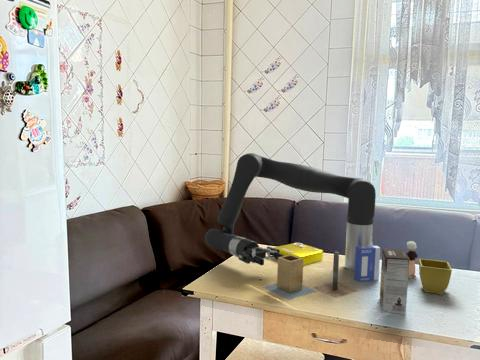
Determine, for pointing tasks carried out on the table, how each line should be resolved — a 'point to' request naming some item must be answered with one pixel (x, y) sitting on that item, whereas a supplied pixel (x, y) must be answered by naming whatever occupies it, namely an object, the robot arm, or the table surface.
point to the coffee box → (394, 280)
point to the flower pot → (434, 275)
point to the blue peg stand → (288, 296)
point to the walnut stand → (335, 282)
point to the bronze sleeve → (290, 273)
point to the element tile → (302, 252)
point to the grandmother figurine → (412, 258)
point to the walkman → (367, 263)
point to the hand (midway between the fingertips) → (273, 260)
